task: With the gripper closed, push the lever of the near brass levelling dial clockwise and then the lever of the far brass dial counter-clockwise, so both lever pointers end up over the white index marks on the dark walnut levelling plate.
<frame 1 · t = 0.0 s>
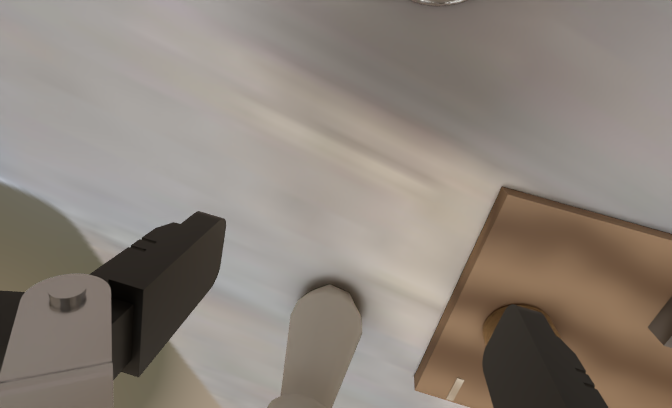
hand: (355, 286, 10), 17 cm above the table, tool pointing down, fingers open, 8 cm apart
levelling plate: (633, 347, 29), on the table
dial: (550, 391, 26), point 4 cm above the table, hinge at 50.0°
salt shaker: (331, 303, 32), on the table
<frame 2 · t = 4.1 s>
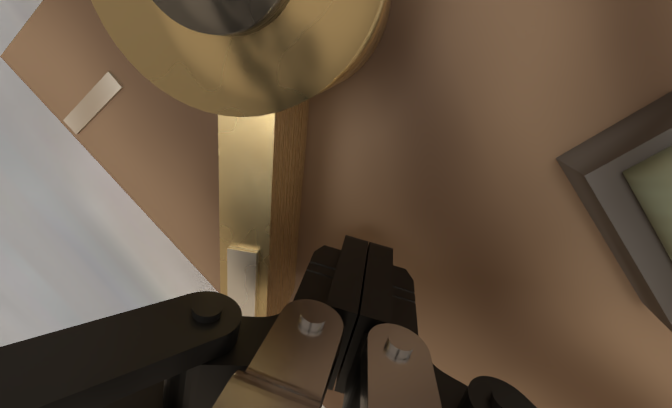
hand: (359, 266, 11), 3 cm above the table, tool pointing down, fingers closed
levelling plate: (481, 225, 14), on the table
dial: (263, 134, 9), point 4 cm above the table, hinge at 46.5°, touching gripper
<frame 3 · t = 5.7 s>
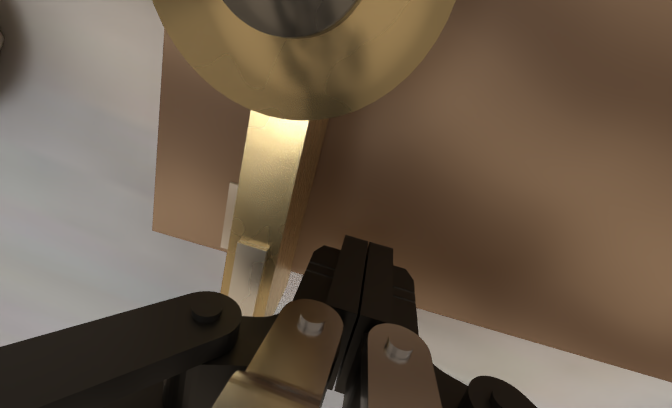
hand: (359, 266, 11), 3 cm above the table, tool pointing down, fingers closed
levelling plate: (653, 69, 11), on the table
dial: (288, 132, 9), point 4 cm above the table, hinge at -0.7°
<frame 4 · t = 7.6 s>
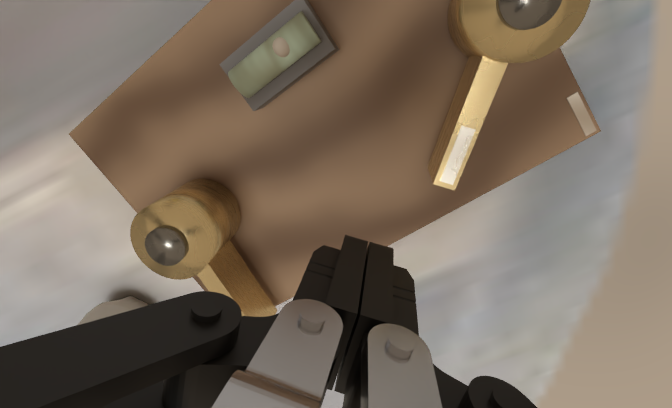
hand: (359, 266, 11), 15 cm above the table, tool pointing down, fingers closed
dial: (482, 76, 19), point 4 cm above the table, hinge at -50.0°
levelling plate: (312, 128, 26), on the table
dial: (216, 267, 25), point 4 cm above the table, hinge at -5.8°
salt shaker: (136, 313, 34), on the table
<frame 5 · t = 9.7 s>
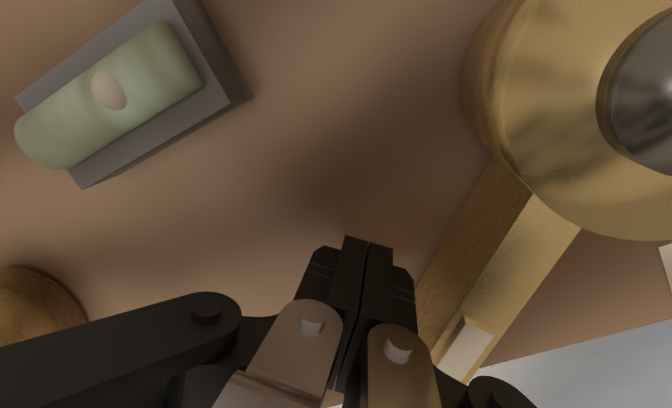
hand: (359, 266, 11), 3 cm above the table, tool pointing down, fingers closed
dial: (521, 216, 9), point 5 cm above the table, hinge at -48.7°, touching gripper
levelling plate: (214, 211, 15), on the table
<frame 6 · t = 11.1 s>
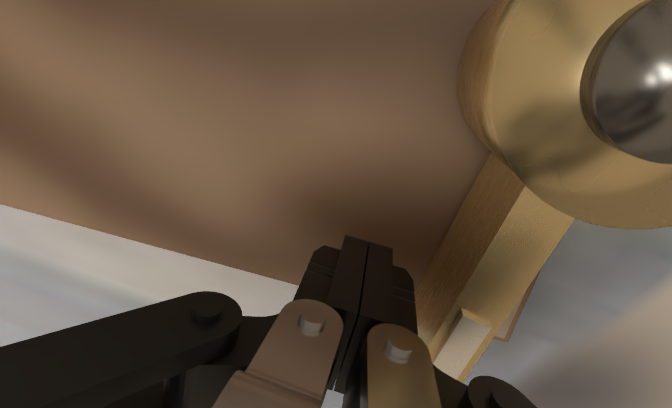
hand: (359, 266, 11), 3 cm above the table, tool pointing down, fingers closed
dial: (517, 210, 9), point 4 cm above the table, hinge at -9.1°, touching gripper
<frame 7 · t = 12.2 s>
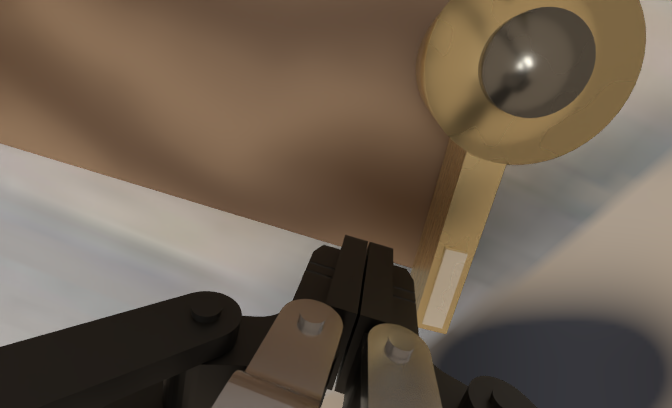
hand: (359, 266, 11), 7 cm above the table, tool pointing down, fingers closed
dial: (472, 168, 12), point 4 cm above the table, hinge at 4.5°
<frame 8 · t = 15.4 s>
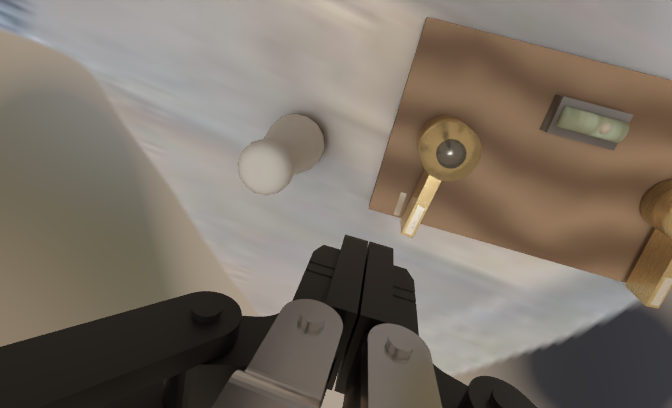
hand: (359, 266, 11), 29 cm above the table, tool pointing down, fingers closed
levelling plate: (535, 158, 37), on the table
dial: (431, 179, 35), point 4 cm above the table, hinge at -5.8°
salt shaker: (301, 138, 40), on the table
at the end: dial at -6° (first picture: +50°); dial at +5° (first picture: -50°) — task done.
